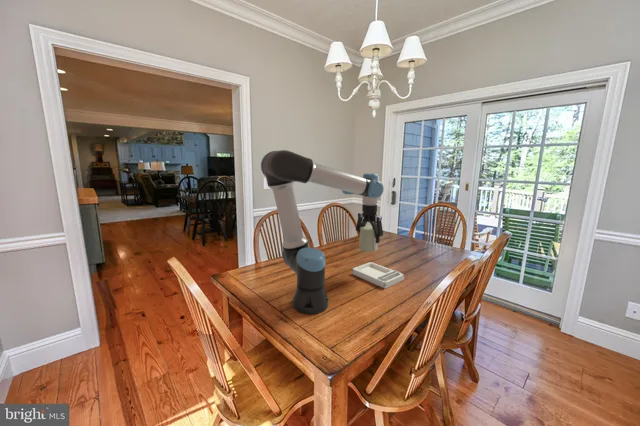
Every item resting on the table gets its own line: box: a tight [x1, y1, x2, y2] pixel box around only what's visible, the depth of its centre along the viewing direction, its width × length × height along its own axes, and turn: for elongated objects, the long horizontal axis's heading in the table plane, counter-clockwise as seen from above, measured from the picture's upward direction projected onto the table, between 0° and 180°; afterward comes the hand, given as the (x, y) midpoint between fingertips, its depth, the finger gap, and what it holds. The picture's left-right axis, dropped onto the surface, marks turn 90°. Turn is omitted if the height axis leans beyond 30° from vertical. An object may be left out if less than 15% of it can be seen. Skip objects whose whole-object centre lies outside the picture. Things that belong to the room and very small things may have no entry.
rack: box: [351, 261, 405, 290], centre depth 139 cm, size 16×22×4 cm
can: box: [359, 225, 378, 253], centre depth 137 cm, size 9×9×12 cm
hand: (368, 246), depth 138 cm, fingers closed on can, 9 cm apart
